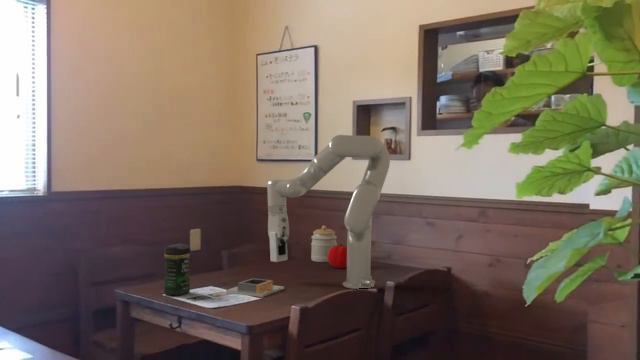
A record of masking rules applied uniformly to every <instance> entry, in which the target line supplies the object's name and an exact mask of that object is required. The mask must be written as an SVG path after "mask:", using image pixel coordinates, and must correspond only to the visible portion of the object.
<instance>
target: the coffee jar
mask: <svg viewBox="0 0 640 360" xmlns="http://www.w3.org/2000/svg"><path fill="white" fill-rule="evenodd" d="M190 256H191V247H190V245H189V244H187V243H175V244H170V245H167V246H166V247H165V248H164V259H165V270H164V284H163V294H165V295H167V296H169V295H173V296H183V295H186V294H188V293H190V291H191V283H190V282H191V281H190ZM182 294H183V295H182Z"/></svg>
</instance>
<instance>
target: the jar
mask: <svg viewBox="0 0 640 360" xmlns="http://www.w3.org/2000/svg"><path fill="white" fill-rule="evenodd" d="M312 233H313V235H311V237H310V238H311V243H310V244H311V247H310V248H311V254H310V255H311V256H310V258H311V261H312V262H315V263H316V262H317V263H329V261H328V254H329V251H330V249H331V248H332V247H334V246H338V242H337V238H338V236H336V231H335V230H333V229H331V228H327V226H326V225H322V226H321V228H319V229H315V230H314V231H313V232H312Z"/></svg>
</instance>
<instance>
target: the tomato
mask: <svg viewBox="0 0 640 360" xmlns="http://www.w3.org/2000/svg"><path fill="white" fill-rule="evenodd" d="M328 261H329V262H328V263H329V264H330V265H331V266H332V267H333V268H338V269H347V245H343V244H339V245H337V246H334V247H332V248H331V249H330V251H329V254H328Z"/></svg>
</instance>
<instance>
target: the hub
mask: <svg viewBox="0 0 640 360" xmlns="http://www.w3.org/2000/svg"><path fill="white" fill-rule="evenodd" d="M282 290H285V286H282V285H274V280H270V279H264V278H263V279H262V278H253V277H252V278H250V279H246V280H242V281H240V282H237V286H235V287H231V288H229V289H226V290H225V292H227V293H226V294H233V293H234V295H242V296H251V297H257V298H258V297H259V298H265V297H267V296H271V295H272V294H275V293H278V292H280V291H282Z"/></svg>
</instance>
